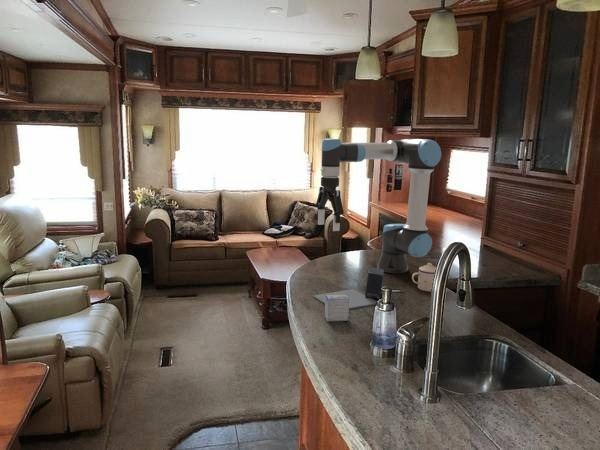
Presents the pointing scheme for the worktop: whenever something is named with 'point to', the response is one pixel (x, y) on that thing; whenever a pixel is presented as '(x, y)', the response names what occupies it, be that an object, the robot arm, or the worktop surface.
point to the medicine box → (336, 307)
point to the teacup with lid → (425, 277)
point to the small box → (374, 283)
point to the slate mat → (350, 298)
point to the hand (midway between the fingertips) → (328, 227)
